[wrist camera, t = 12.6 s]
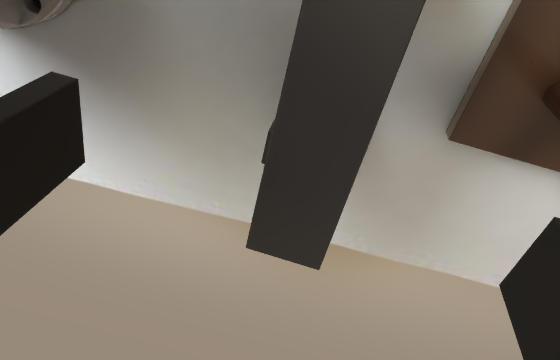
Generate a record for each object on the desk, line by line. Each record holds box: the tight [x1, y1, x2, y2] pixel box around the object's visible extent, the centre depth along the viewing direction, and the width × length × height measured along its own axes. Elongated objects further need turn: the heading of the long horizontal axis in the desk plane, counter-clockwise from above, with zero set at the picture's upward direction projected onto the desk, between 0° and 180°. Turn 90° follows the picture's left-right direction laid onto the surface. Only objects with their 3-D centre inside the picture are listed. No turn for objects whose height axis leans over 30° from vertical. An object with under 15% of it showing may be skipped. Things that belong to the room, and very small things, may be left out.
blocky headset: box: [246, 0, 426, 270], centre depth 22 cm, size 6×17×14 cm, turn 167°
